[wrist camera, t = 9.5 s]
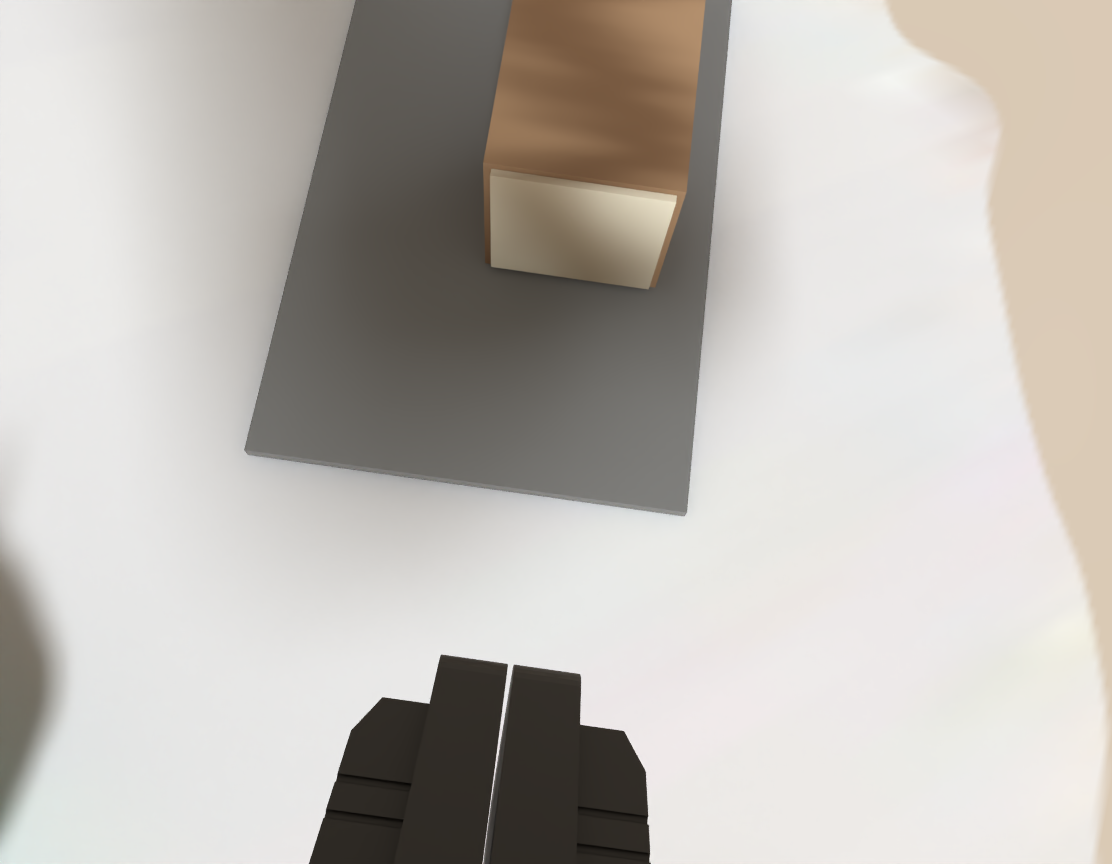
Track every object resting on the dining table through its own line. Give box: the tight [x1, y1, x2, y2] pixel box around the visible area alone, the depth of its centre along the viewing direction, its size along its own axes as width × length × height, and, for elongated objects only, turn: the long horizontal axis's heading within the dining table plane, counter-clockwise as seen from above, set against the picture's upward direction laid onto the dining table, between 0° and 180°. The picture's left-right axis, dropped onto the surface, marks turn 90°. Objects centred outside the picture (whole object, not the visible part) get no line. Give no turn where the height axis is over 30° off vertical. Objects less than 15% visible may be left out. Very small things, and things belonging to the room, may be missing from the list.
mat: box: [244, 0, 732, 516], centre depth 30 cm, size 12×18×1 cm, turn 173°
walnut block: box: [483, 0, 706, 289], centre depth 28 cm, size 5×5×11 cm
